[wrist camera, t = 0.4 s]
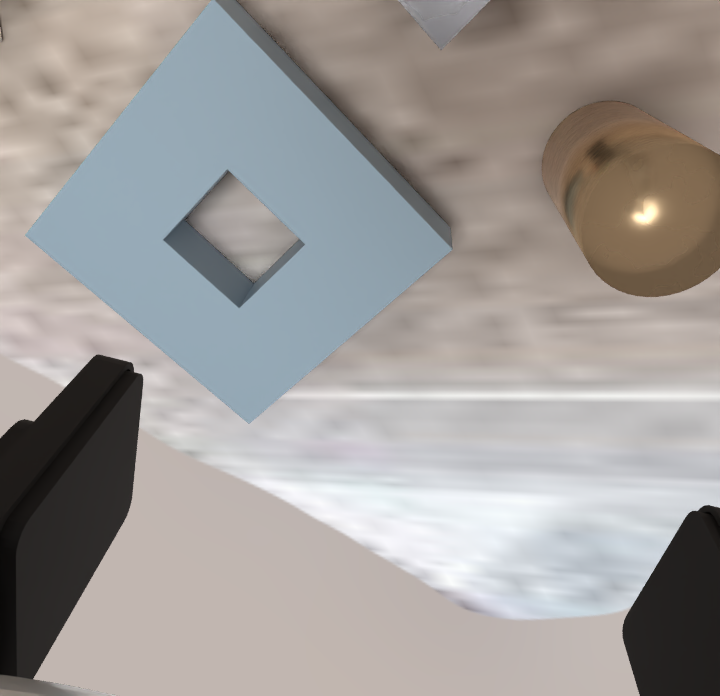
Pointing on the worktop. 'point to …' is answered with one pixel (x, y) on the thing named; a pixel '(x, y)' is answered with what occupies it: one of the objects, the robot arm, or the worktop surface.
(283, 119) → the bore block
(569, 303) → the worktop surface
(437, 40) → the square peg
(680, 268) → the round bar
